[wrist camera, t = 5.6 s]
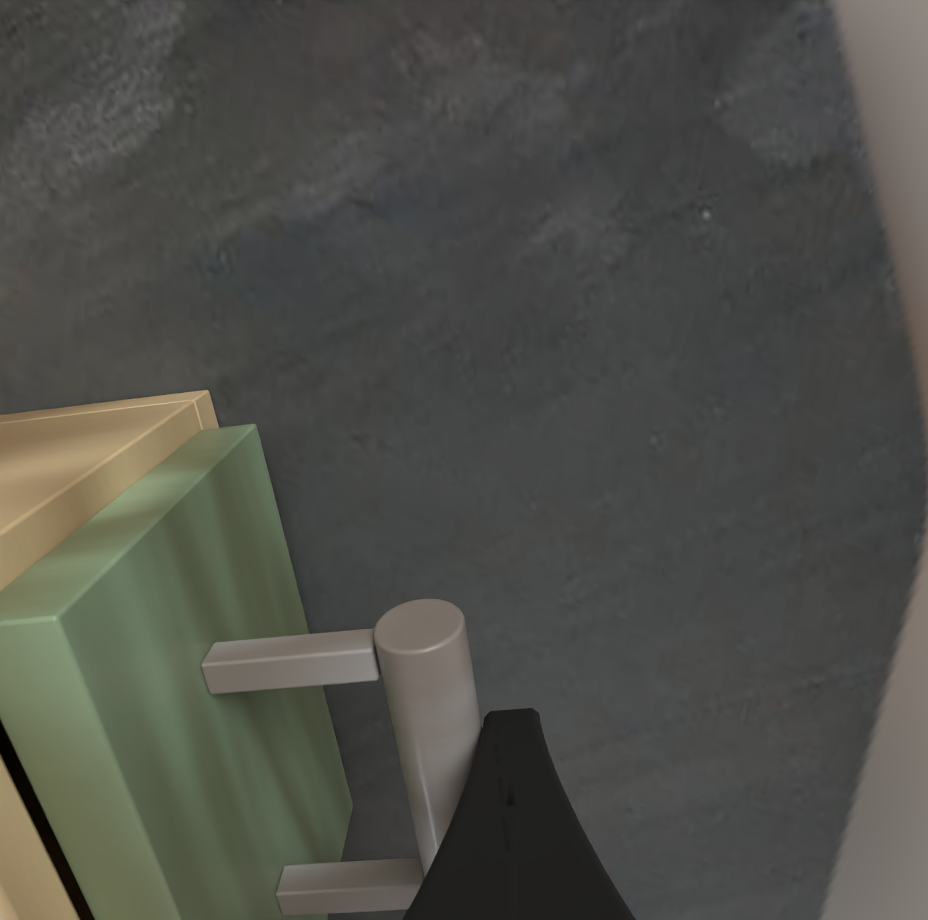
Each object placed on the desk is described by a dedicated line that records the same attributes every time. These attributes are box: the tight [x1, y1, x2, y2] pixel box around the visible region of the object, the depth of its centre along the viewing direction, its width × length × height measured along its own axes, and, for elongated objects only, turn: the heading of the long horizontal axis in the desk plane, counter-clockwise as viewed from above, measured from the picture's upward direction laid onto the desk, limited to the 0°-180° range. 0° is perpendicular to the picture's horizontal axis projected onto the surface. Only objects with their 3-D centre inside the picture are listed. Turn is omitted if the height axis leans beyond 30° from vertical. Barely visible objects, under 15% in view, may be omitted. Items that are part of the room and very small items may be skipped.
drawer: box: [0, 424, 482, 920], centre depth 13 cm, size 17×10×7 cm, turn 98°
